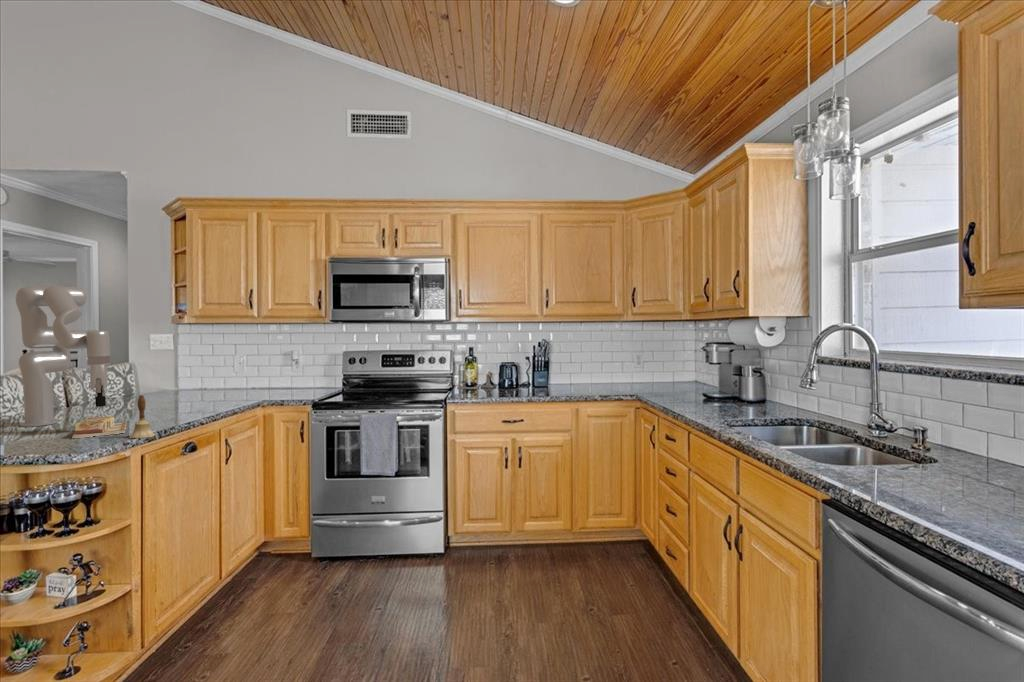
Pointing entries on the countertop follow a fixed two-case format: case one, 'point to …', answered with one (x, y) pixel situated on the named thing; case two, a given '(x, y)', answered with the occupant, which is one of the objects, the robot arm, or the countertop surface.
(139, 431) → the hand bell
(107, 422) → the candy box
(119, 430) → the board
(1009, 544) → the countertop surface
